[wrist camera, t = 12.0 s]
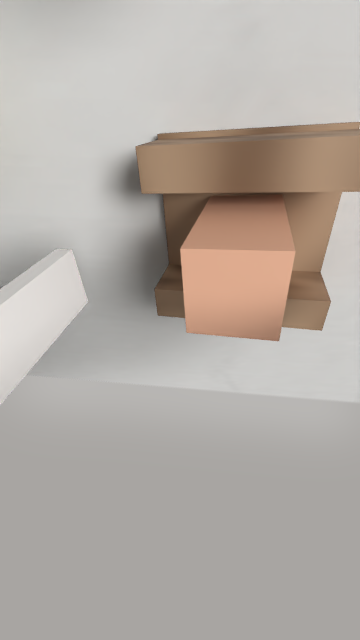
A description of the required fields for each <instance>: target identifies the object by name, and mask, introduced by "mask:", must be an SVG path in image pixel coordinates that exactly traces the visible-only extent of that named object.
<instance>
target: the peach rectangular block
mask: <svg viewBox="0 0 360 640" xmlns="http://www.w3.org/2000/svg"><path fill="white" fill-rule="evenodd" d="M295 252H296V251H295V247H294V242H293V238H292V234H291V229H290V225H289V221H288V217H287V212H286V208H285V204H284V200H283V195H282V194H270V195H225V196H211V197H210V199H209V200H208V202H207V204H206V205H205V207H204V209H203V211H202V212H201V214H200V216H199V217H198V219H197V221H196V223H195V224H194V226H193V228H192V229H191V231H190V233H189V234H188V236H187V238H186V240H185V241H184V243H183V245H182V246H181V248H180V253H181V266H182V279H183V293H184V306H185V319H186V332H187V333H196V334H207V335H217V336H228V337H239V338H250V339H260V340H271V341H279V338H280V333H281V327H282V322H283V317H284V311H285V306H286V300H287V295H288V290H289V284H290V279H291V273H292V268H293V263H294V257H295Z"/></svg>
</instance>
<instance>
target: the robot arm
mask: <svg viewBox="0 0 360 640" xmlns="http://www.w3.org/2000/svg"><path fill="white" fill-rule="evenodd" d="M87 303H88V300H87V296H86V293H85V290H84V287H83V283H82V280H81V277H80V274H79V271H78V267H77V264H76V261H75V258H74V254H73V251H72V249H55V250H54V251H53V252H51V253H50V254H48V255H47V256H46V257H44V258H43V259H41V260H40V261H39V262H37V263H36V264H35V265H33V266H32V267H30V268H29V269H28V270H26V271H25V272H23V273H22V274H21V275H19V276H18V277H16V278H15V279H14V280H12V281H11V282H9V283H8V284H7V285H5V286H4V287H2V288H1V289H0V405H1V404H2V403H3V401H4V400H5V399H6V398H7V397H8V396H9V394H10V393H11V392H12V391H13V390H14V389H15V387H16V386H17V385H18V384H19V383H20V382H21V380H22V379H23V378H24V377H25V376H26V374H27V373H28V372H29V371H30V370H31V369H32V367H33V366H34V365H35V364H36V363H37V362H38V360H39V359H40V358H41V357H42V356H43V354H44V353H45V352H46V351H47V350H48V349H49V347H50V346H51V345H52V344H53V343H54V341H55V340H56V339H57V338H58V337H59V336H60V334H61V333H62V332H63V331H64V330H65V329H66V327H67V326H68V325H69V324H70V323H71V321H72V320H73V319H74V318H75V317H76V316H77V314H78V313H79V312H80V311H81V310H82V309H83V307H84V306H85V305H86V304H87Z"/></svg>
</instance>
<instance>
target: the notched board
mask: <svg viewBox="0 0 360 640" xmlns="http://www.w3.org/2000/svg"><path fill="white" fill-rule="evenodd" d="M359 127H360V122H349V123H332V124H315V125H298V126H281V127H264V128H247V129H230V130H213V131H196V132H179V133H162V134H157V135H158V140H156V141H152V142H149V143H145V144H142V145H139V146H136V154H137V162H138V169H139V177H140V184H141V192H142V194H153V193H163V202H164V213H165V225H166V236H167V247H168V258H169V265H168V267H167V269H166V270H165V272H164V274H163V275H162V277H161V279H160V281H159V282H158V284H157V286H156V287H155V289H154V291H155V298H156V306H157V313H158V316H169V317H180V318H185V306H184V293H183V279H182V266H181V253H180V248H181V246H182V245H183V243H184V241H185V240H186V238H187V236H188V234H189V233H190V231H191V229H192V228H193V226H194V224H195V223H196V221H197V219H198V217H199V216H200V214H201V212H202V211H203V209H204V207H205V205H206V204H207V202H208V200H209V199H210V197H211V196H225V195H270V194H282V195H283V200H284V204H285V208H286V212H287V217H288V221H289V225H290V229H291V234H292V238H293V242H294V247H295V251H296V252H295V257H294V263H293V268H292V273H291V279H290V284H289V290H288V295H287V300H286V306H285V311H284V317H283V322H282V327H289V328H299V329H310V330H321V331H322V328H323V325H324V322H325V319H326V316H327V313H328V309H329V306H330V303H331V300H330V298H329V295H328V292H327V289H326V286H325V284H324V281H323V278H322V275H321V272H320V271H321V268H322V264H323V260H324V257H325V253H326V249H327V245H328V242H329V238H330V234H331V231H332V227H333V223H334V220H335V216H336V212H337V208H338V205H339V201H340V197H341V194H342V192H360V129H359Z"/></svg>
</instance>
